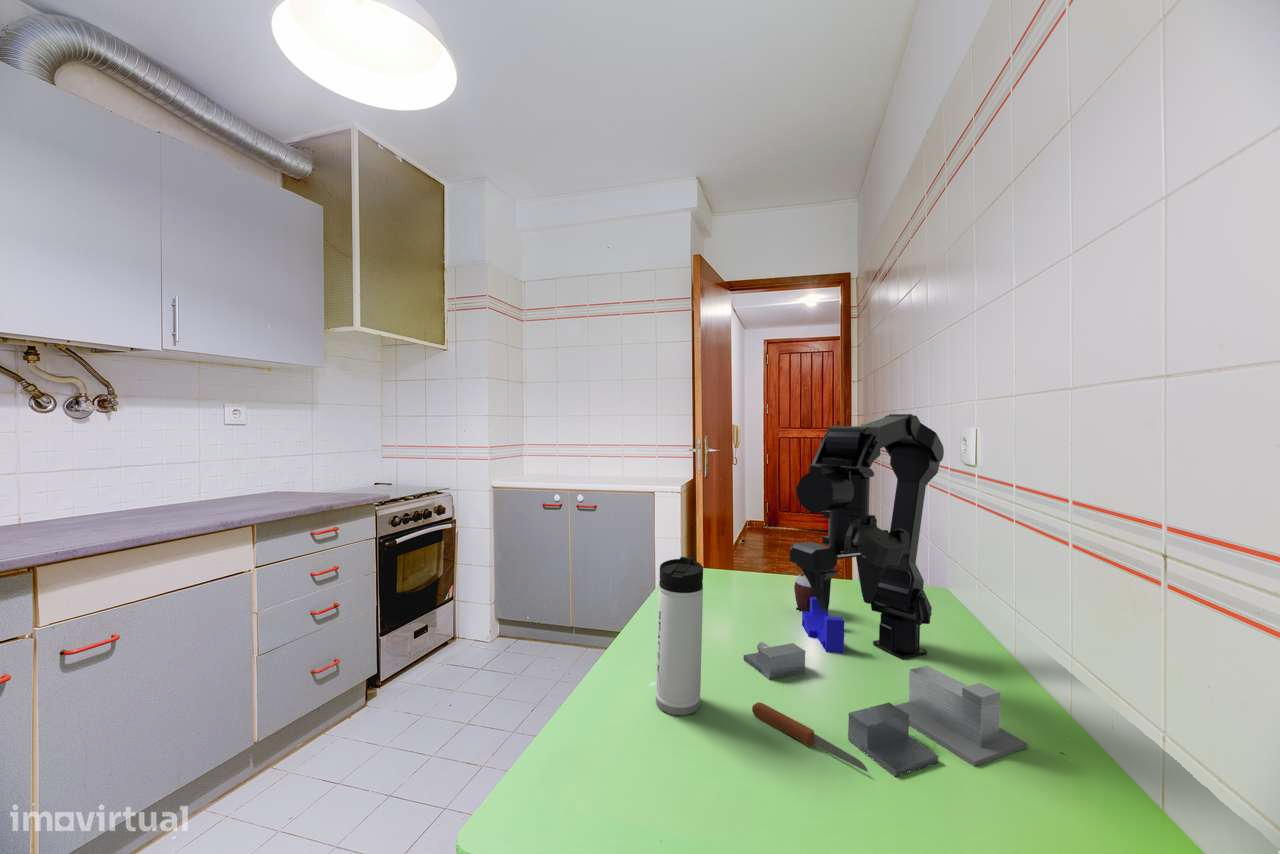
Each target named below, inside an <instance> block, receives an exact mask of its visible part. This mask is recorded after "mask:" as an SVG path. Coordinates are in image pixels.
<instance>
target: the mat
mask: <svg viewBox="0 0 1280 854" xmlns="http://www.w3.org/2000/svg"><path fill="white" fill-rule="evenodd" d="M894 706H896V707H897V708H899V709H900V710H902V711H904V712H905V713H907V714H909V727H912V728H914V729H915V730H917V731H919V733H921V734H923V735H925V736H926V737H928V738H929V739H931V740H932V741H934V742H936V743H937V744H939V745H940V746H942V747H943V748H944V749H947V750H948V751H950V752H951V753H953V754H955V755H956V756H957V757H958V758H960V759H962V760H964V761H965V762H967V763H968V764H969V765H972V766H973V767H977V766H979V765H982V764H985V763H988V762H991V761H994V760H997V759H1000V758H1003V757H1006V756H1008V755H1011V754H1013V753H1016V752H1019V751H1022V750H1025V749H1027V748H1028V742H1027V741H1025V740H1023V739H1021V738H1019V737H1018V736H1016V735H1014V734H1012V733H1010V732H1009V731H1006V730H1004V729H1003V728H1001V727H999V742H996V743H993V744H990V745H987V746H984V747H981V748H980V747H979V746H977V745H975V744H974V743H972V742H970V741H969V740H967V739H965V738H964V737H962V736H960V735H959V734H957V733H955V732H954V731H952V730H950V729H949V728H947V727H945V726H944V725H942V724H940V723H938V722H937V721H935V720H933V719H932V718H930V717H928V716H927V715H925V714H923V713H922V712H920V711H918V710H917V709H915V708H913V707H912V706H910V705H909V701H907V702H902V703H900V704H896V705H894Z"/></svg>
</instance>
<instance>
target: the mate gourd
mask: <svg viewBox="0 0 1280 854" xmlns="http://www.w3.org/2000/svg"><path fill="white" fill-rule="evenodd" d="M793 588H794V594H795V595H794V597H795V601H796V606H797V607H796V608H795V610H796V611H797V610H799V611H798V612H801V611H808V612H810V597H815V595H814V592H813V590H812V588H811V586H810V583H809V581H808V579H807V578H806V576H805V574H804V572H802V573H800V574H799V575H798V576H797V577H796V578H795V582H794V587H793Z"/></svg>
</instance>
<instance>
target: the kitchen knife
mask: <svg viewBox="0 0 1280 854" xmlns="http://www.w3.org/2000/svg"><path fill="white" fill-rule="evenodd" d="M751 711H752V713H753V715H754V716H755V717H756V718H757V719H758V720H760V721H762V722H763V723H765V724H767V725H769V726H771V727H773V728H775V729H777V730H779V731H781V732H783V733H785V734H787V735H789V736H791V737H793V738H795V739H797V740H799V742H801V743H802V744H804V745H805V746H807V747H808V748H814V746H815V747H817V748H820V749H821V750H823V751H825V752H827V753H829V754H831V755H833V756H834V757H836V758H838V759H840V760H842V761H845V762H846V763H848V764H850V765H852V766H855V767H856V768H858V769H859V770H863V771H865V772H868V771H869V770H868V768H867V767H866V765H865V763H864V762H862V761H861V760H860V759H859V758H857V757H856V756H853V755H852V754H850V753H848V752H847V751H845V750H844V749H842V748H840V747H838V746H836V745H835V744H833V743H831V742H830V741H828V740H826V739H824V738H822V737H821V736H820V735H817V733H815V731H814V729H812V728H810V727H809V726H806V725H804V724H802V723H801V722H799V721H798V720H795V719H793V718H791V717H790V716H787V714H784V713H782V712H780V711H778V710H776V709H774V708H772V707H770V706H769V705H767V704H765V703H763V702H760V701H759V702H756V703H754V704H753V705H752V707H751Z"/></svg>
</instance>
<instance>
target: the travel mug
mask: <svg viewBox="0 0 1280 854" xmlns="http://www.w3.org/2000/svg"><path fill="white" fill-rule="evenodd" d="M659 565H660V566H659V582H658V583H659V584H658V589H659V590H658V608H657V609H658V610H657V613H658V614H657V644H656V645H657V646H656V647H657V650H656V652H657V653H656V684H655V685H656V686H655V687H656V691H655V703H656V705H657V707H658V708H659V709H660V710H661V711H662V712H664V713H667V714H668V715H669V714H670V715H673V716H688V715H690V714H694V713H695V712H697V710H699V708H700V706H701V690H702V689H701V684H702V683H701V682H702V681H701V680H702V679H701V678H702V647H703V645H702V644H703V643H702V642H703V641H702V638H703V607H704V606H703V605H704V600H703V599H704V592H703V591H704V582H703V580H704V566H703V565H702V563H700V562H699V561H696V560H694V559H693V557H687V556H680V558H674V559H668V560H665V561H663V562H662V563H661V564H659Z"/></svg>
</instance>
